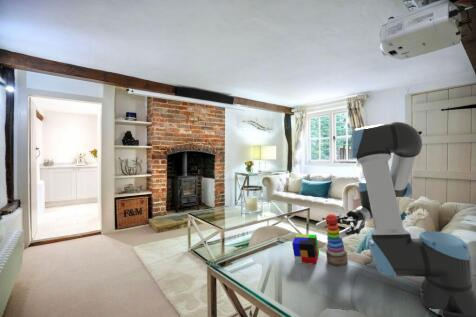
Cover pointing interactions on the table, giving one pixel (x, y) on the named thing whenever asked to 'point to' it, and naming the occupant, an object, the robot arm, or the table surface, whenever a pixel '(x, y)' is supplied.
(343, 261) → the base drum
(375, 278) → the table surface
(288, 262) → the table surface
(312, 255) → the puzzle toy
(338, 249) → the stacking toy
